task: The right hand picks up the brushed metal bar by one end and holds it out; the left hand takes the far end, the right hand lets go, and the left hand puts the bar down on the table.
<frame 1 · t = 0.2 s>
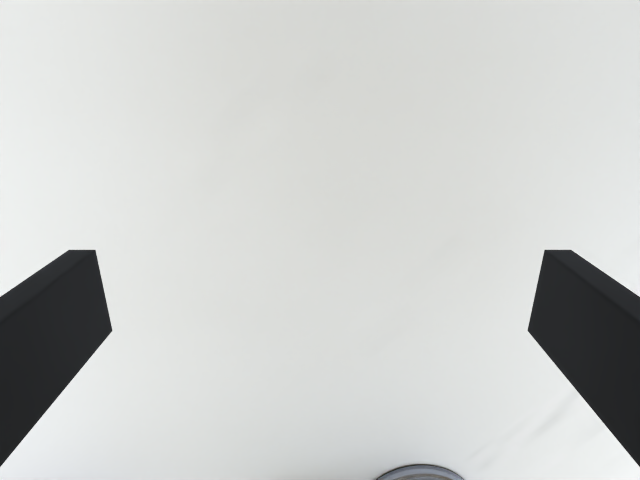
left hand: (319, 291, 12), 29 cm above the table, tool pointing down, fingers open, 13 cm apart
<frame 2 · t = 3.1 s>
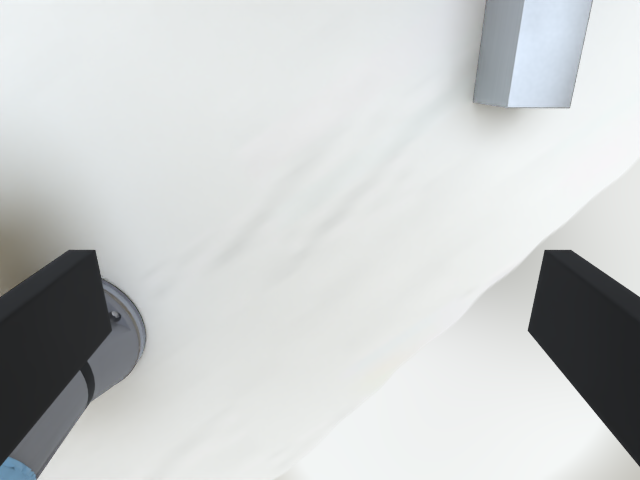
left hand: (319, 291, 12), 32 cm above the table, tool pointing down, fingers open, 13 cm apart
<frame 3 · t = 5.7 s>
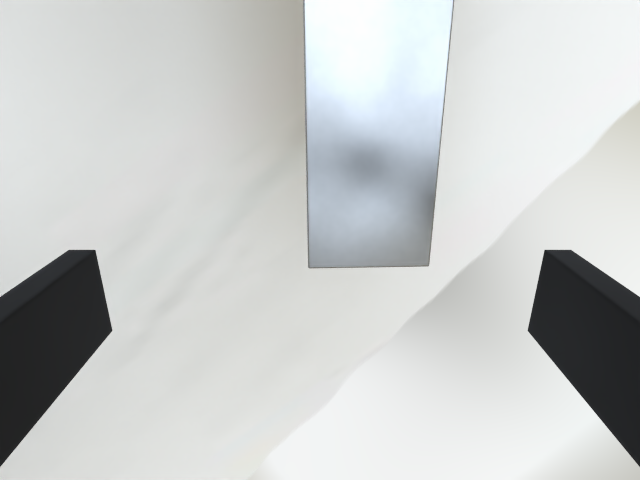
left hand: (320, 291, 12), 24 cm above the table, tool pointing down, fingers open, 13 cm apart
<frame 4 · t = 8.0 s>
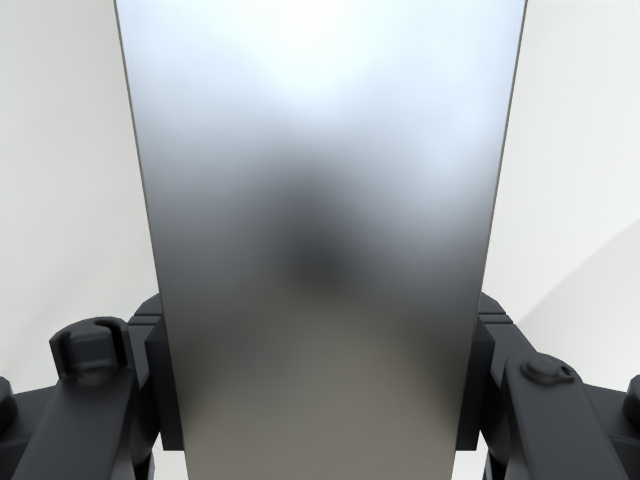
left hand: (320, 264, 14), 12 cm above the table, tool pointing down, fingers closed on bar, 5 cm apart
when the right hand's fingers open (12 cm above the table, at t = 8.5 s): bar stays where it is, held by the left hand.
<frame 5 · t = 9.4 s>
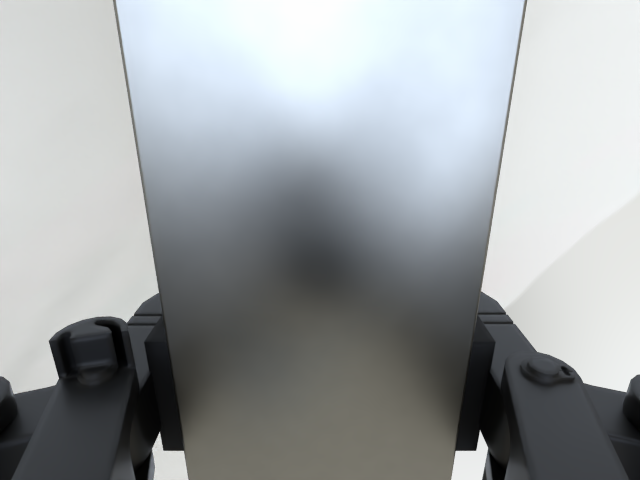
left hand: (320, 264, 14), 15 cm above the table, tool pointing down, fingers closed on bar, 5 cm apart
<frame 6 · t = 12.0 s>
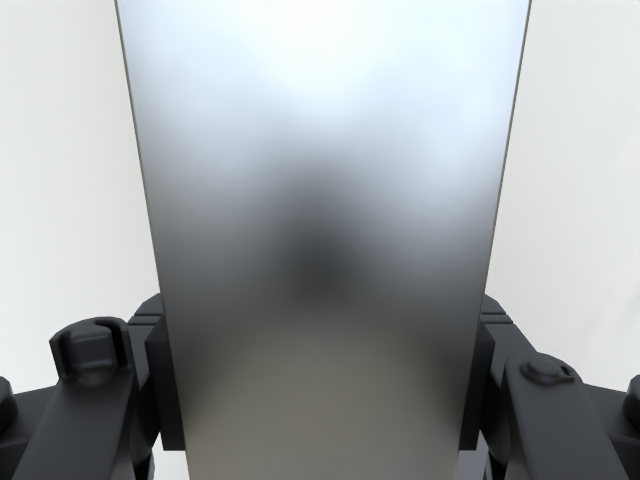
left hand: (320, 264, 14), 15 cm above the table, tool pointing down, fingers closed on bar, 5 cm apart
when the left hand's fingers open (2 cm above the table, at t = 16.2 s): bar drops 2 cm, on the table.
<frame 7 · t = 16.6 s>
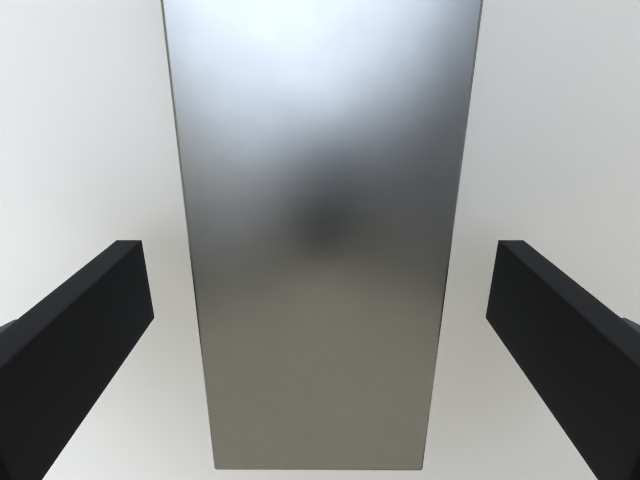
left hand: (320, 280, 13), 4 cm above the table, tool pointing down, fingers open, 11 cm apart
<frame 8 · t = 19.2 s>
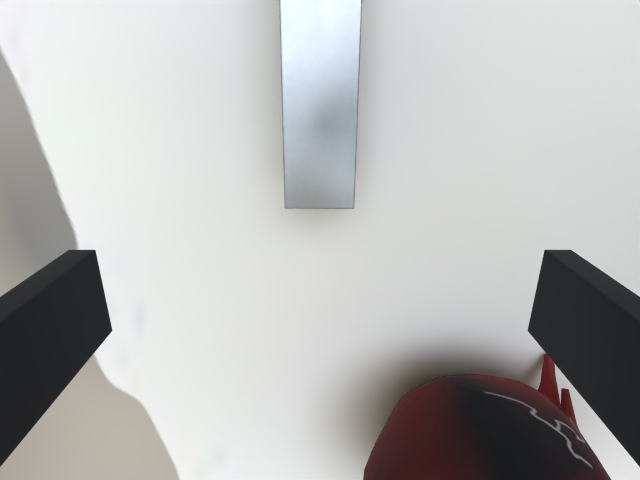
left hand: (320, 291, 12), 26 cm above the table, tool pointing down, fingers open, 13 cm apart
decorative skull: (451, 428, 48), on the table
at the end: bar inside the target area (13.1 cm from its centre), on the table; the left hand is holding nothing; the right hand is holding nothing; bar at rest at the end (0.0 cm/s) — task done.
